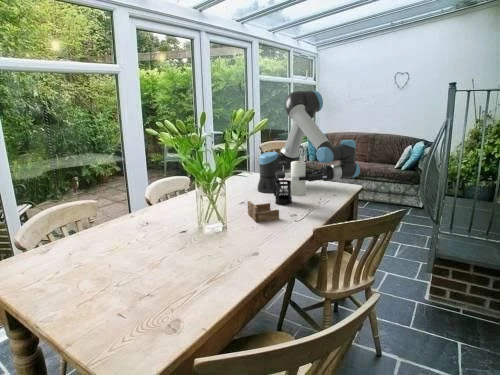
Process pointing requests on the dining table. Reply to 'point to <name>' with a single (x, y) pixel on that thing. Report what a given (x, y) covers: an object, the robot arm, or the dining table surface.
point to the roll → (297, 170)
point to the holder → (262, 212)
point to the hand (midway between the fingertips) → (288, 177)
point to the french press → (283, 195)
